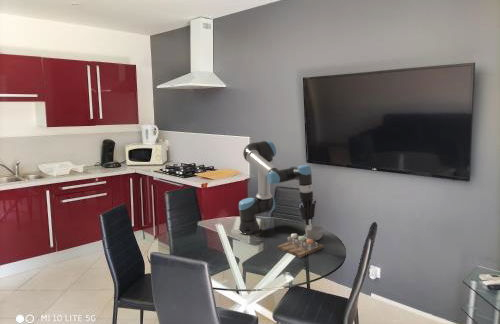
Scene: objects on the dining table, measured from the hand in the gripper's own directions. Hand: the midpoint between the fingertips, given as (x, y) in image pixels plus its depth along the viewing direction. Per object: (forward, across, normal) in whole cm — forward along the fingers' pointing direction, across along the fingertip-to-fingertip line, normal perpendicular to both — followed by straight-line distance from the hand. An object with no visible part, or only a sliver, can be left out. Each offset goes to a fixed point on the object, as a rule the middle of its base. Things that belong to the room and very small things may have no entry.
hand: (309, 229), depth 221 cm
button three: (+10, 0, 0) cm, 10 cm away
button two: (+10, 0, +7) cm, 12 cm away
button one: (+9, 0, +14) cm, 17 cm away
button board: (+13, -2, +8) cm, 15 cm away
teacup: (+13, +16, +12) cm, 24 cm away
